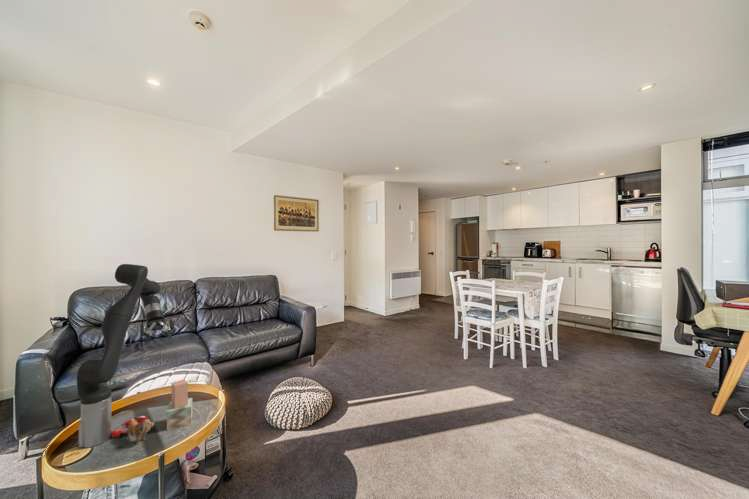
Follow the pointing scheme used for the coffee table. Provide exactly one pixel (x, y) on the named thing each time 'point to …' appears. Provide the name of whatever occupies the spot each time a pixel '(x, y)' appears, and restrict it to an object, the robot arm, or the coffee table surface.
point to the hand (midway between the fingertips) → (160, 339)
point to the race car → (126, 427)
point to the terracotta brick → (179, 393)
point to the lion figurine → (139, 429)
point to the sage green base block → (179, 415)
